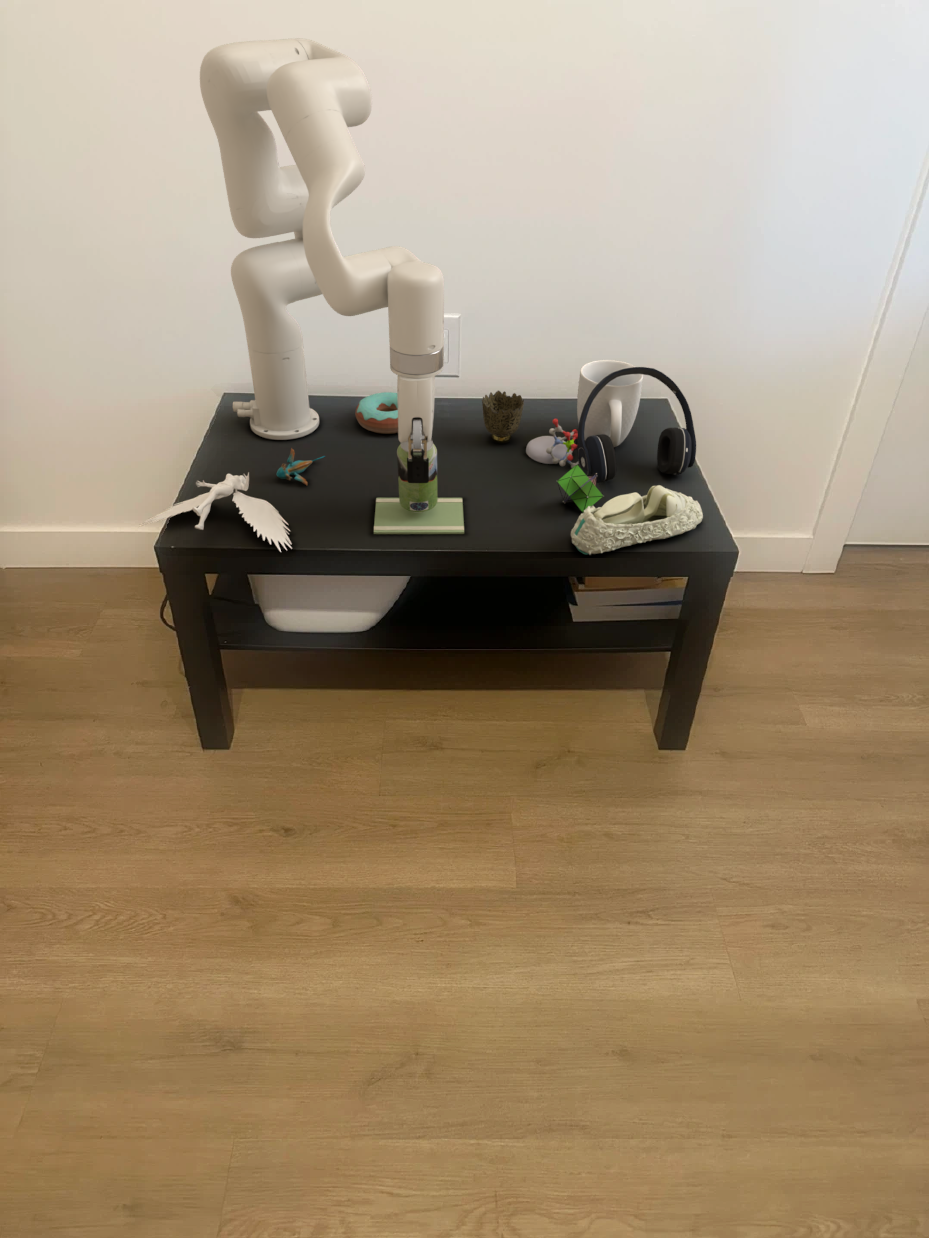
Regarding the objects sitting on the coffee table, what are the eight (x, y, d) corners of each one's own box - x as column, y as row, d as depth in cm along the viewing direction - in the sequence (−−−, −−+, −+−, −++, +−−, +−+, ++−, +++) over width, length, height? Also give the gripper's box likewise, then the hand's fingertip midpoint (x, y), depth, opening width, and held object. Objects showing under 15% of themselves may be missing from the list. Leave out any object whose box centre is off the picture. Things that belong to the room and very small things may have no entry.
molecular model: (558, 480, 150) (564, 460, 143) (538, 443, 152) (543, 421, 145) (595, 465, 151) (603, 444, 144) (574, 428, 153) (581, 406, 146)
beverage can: (439, 499, 140) (442, 430, 133) (433, 521, 134) (436, 450, 127) (400, 495, 140) (401, 426, 133) (393, 518, 134) (394, 446, 127)
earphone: (684, 473, 152) (678, 366, 149) (702, 472, 146) (697, 360, 143) (576, 484, 149) (568, 375, 146) (589, 484, 142) (581, 369, 139)
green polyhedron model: (591, 466, 133) (576, 451, 140) (557, 495, 135) (544, 478, 142) (617, 498, 137) (601, 481, 144) (583, 526, 138) (569, 508, 145)
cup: (527, 436, 159) (530, 395, 154) (512, 453, 154) (514, 412, 149) (490, 427, 162) (492, 387, 157) (474, 444, 156) (475, 403, 151)
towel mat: (373, 534, 134) (373, 531, 134) (376, 499, 142) (376, 497, 141) (464, 534, 134) (464, 531, 134) (462, 499, 142) (462, 497, 142)
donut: (350, 412, 165) (349, 392, 163) (411, 405, 168) (411, 385, 165) (362, 441, 157) (361, 421, 154) (426, 433, 159) (426, 413, 157)
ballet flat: (716, 530, 138) (728, 487, 132) (592, 572, 128) (600, 527, 123) (680, 502, 143) (691, 460, 138) (559, 540, 133) (565, 497, 128)
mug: (642, 466, 151) (654, 396, 143) (580, 466, 151) (588, 396, 143) (626, 426, 163) (637, 359, 155) (568, 426, 162) (575, 359, 154)
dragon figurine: (279, 452, 150) (266, 457, 143) (318, 438, 149) (306, 442, 142) (295, 488, 152) (282, 495, 144) (332, 473, 151) (322, 480, 143)
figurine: (112, 523, 127) (162, 530, 141) (269, 560, 123) (304, 564, 137) (128, 443, 126) (177, 458, 140) (287, 478, 122) (320, 490, 136)
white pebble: (525, 452, 151) (525, 462, 152) (571, 455, 150) (570, 465, 152) (527, 430, 157) (526, 439, 158) (572, 433, 156) (570, 443, 158)
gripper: (391, 333, 128) (395, 443, 139) (387, 384, 114) (392, 500, 126) (442, 334, 128) (441, 443, 139) (444, 384, 115) (443, 500, 126)
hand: (418, 469), depth 133 cm, fingers closed on beverage can, 6 cm apart
